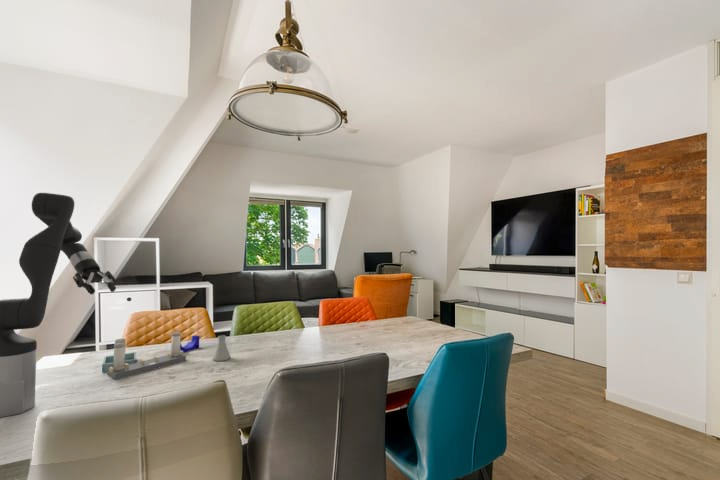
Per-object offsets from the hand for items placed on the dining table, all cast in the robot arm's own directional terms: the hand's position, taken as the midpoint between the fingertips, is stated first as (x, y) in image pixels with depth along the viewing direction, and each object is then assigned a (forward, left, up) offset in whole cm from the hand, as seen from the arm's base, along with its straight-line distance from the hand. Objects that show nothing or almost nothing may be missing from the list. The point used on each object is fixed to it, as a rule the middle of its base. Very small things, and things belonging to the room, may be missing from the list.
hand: (103, 291), depth 140 cm
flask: (-19, -43, -31) cm, 56 cm away
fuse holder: (-13, -16, -31) cm, 37 cm away
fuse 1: (-17, -6, -29) cm, 34 cm away
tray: (-4, -6, -31) cm, 31 cm away
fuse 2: (-10, -26, -29) cm, 40 cm away
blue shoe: (+4, -31, -31) cm, 44 cm away
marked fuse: (-4, -6, -30) cm, 31 cm away
